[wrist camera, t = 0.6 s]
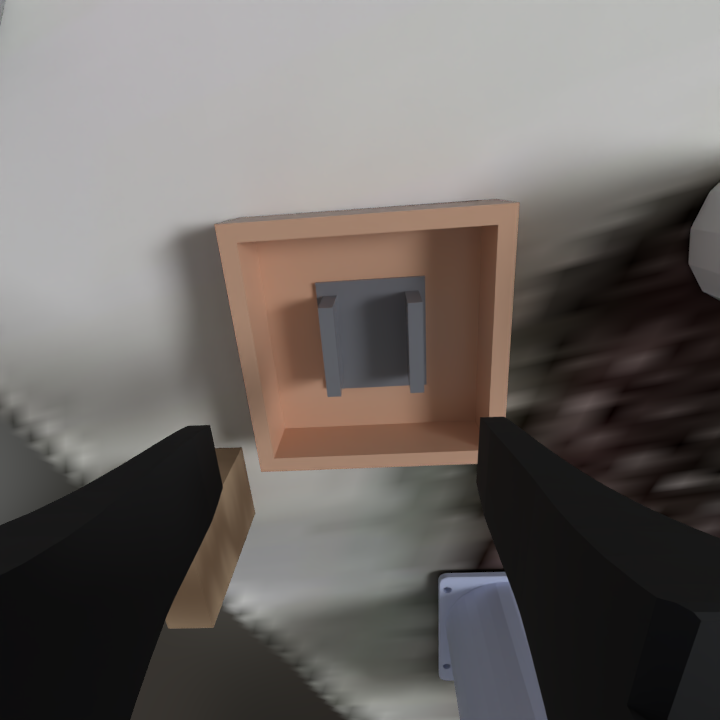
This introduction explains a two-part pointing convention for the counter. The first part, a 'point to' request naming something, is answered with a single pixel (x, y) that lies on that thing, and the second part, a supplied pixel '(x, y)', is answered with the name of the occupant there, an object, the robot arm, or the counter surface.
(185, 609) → the tall brown plank
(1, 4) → the supplement can
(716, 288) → the white cup
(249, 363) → the shallow square frame box
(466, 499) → the counter surface
